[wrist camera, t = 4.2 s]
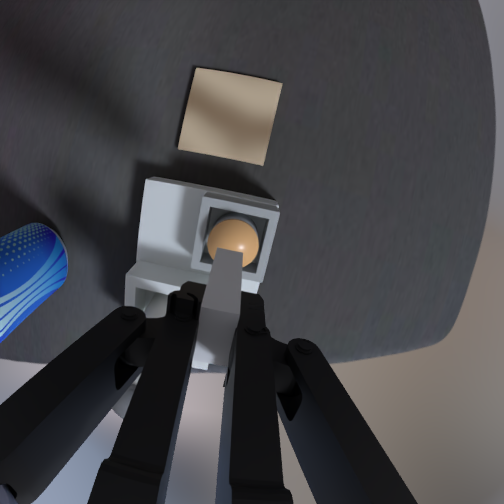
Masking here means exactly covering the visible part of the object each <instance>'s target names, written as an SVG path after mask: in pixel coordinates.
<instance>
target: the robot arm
mask: <svg viewBox="0 0 504 504" xmlns="http://www.w3.org/2000/svg"><path fill="white" fill-rule="evenodd" d="M242 265H243V253H242V252H237V251H232V250H227V249H223V248H218V247H217V250H216V254H215V257H214V261H213V264H212V268H211V271H210V275H209V278H208V282H207V285H206V284H201V283H197V282H192V281H187V282H185V283H184V284H182V286H181V288H180V290H176V291H173V292H171V293H170V294H169V295H168V299H167V309H166V314H165V316H164V317H160V318H146V314H145V313H144V311H143V310H141V309H139V308H137V307H133V306H122V307H119V308H117V309H115V310H114V311H113V312H111V313H110V314H109V315H108V316H106V317H105V318H104V319H103V320H101V321H100V322H99V323H98V324H96V325H95V326H94V327H93V328H91V329H90V330H89V331H88V332H86V333H85V334H84V335H83V336H81V337H80V338H79V339H78V340H76V341H75V342H74V343H73V344H72V345H70V346H69V347H68V348H67V349H65V350H64V351H63V352H62V353H61V354H59V355H58V356H57V357H56V358H55V359H53V360H52V361H51V362H50V363H49V364H47V365H46V366H45V367H44V368H43V369H41V370H40V371H39V372H38V373H37V374H36V375H34V376H33V377H32V378H31V379H30V380H29V381H28V382H26V383H25V384H24V385H23V386H22V387H20V388H19V389H18V390H17V391H16V392H15V393H13V394H12V395H11V396H10V397H9V398H8V399H7V400H6V401H4V402H3V403H2V404H1V405H0V504H31V503H32V502H34V501H35V500H36V499H37V498H38V497H39V496H40V495H41V494H42V492H43V491H44V490H45V489H46V488H47V487H48V485H49V484H50V483H51V482H52V481H53V479H54V478H55V477H56V476H57V474H58V473H59V472H60V470H61V469H62V468H63V467H64V466H65V464H66V463H67V462H68V461H69V460H70V458H71V457H72V456H73V455H74V453H75V452H76V451H77V450H78V448H79V447H80V446H81V445H82V444H83V443H84V441H85V440H86V439H87V438H88V436H89V435H90V434H91V433H92V432H93V430H94V429H95V428H96V427H97V426H98V424H99V423H100V422H101V421H102V420H103V418H104V417H105V416H106V415H107V414H108V412H109V411H110V410H111V409H112V407H113V406H114V405H115V404H116V403H117V401H118V400H119V399H120V398H121V397H122V395H123V394H124V393H125V392H126V391H127V389H128V388H129V387H130V386H131V385H132V383H133V382H134V381H135V380H136V379H137V377H138V376H139V375H140V374H141V375H140V377H139V380H138V382H137V385H136V388H135V390H134V393H133V395H132V398H131V401H130V403H129V406H128V408H127V411H126V414H125V417H124V419H123V422H122V425H121V428H120V430H119V433H118V436H117V439H116V441H115V444H114V447H113V450H112V453H111V455H110V457H109V458H108V459H104V461H103V462H102V463H101V466H100V468H99V470H98V473H97V476H96V479H95V482H94V485H93V488H92V492H91V494H90V497H89V500H88V503H87V504H165V498H166V492H167V486H168V481H169V475H170V470H171V465H172V460H173V455H174V450H175V444H176V439H177V434H178V429H179V424H180V420H181V415H182V409H183V405H184V400H185V395H186V391H187V386H188V382H189V377H190V372H191V368H192V361H193V360H195V361H200V362H205V363H210V364H215V365H221V366H226V367H227V366H228V368H227V372H226V377H225V381H224V385H223V387H225V391H224V402H223V413H222V425H221V436H220V449H219V462H218V473H217V486H216V499H215V504H293V499H292V494H291V492H290V490H288V489H286V488H285V487H284V483H283V472H282V460H281V448H280V437H279V424H278V415H277V411H278V413H279V416H280V418H281V421H282V423H283V425H284V428H285V430H286V433H287V435H288V438H289V440H290V442H291V445H292V447H293V449H294V452H295V454H296V457H297V459H298V461H299V464H300V466H301V469H302V471H303V473H304V476H305V478H306V480H307V483H308V485H309V487H310V489H311V492H312V494H313V496H314V499H315V501H316V503H317V504H418V503H417V502H416V500H415V499H414V497H413V495H412V494H411V492H410V491H409V489H408V488H407V486H406V484H405V483H404V481H403V480H402V478H401V476H400V475H399V473H398V472H397V470H396V468H395V467H394V465H393V464H392V462H391V461H390V459H389V457H388V456H387V454H386V453H385V451H384V450H383V448H382V447H381V445H380V443H379V442H378V440H377V439H376V437H375V435H374V434H373V432H372V431H371V429H370V427H369V426H368V425H367V423H366V421H365V420H364V418H363V417H362V415H361V413H360V412H359V410H358V409H357V407H356V406H355V404H354V402H353V401H352V399H351V398H350V396H349V395H348V393H347V391H346V390H345V388H344V387H343V385H342V384H341V382H340V380H339V379H338V377H337V376H336V374H335V373H334V371H333V369H332V368H331V366H330V365H329V363H328V362H327V360H326V359H325V357H324V355H323V354H322V352H321V351H320V349H319V348H318V347H317V346H316V344H314V343H312V342H311V341H309V340H306V339H300V338H297V339H292V340H291V341H289V343H288V345H287V344H284V343H282V342H279V341H277V340H275V339H273V338H272V337H271V336H270V331H269V329H268V328H267V327H266V325H265V313H264V301H263V299H262V298H261V296H260V295H259V294H255V293H250V292H245V291H241V284H242Z"/></svg>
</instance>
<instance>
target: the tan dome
mask: <svg viewBox="0 0 504 504" xmlns="http://www.w3.org/2000/svg"><path fill="white" fill-rule="evenodd" d="M207 247H208V251H209V254H210V256H211V257H212V259H213V260H214V257H215V254H216V250H217V247H218V248H223V249H227V250H232V251H237V252H242V253H243V265H242V267H245V266H246V265H248V264H249V263H251V262H252V261H253V259H254V258H255V257H256V255H257V252H258V248H259V242H258V231H257V227H256V225H255V223H254V221H253V220H252V219H251V218H250V217H249V216H247V215H246V214H243V213H239V212H229V213H226V214H224V215H222V216H221V217H219V218H218V219H217V220H216V222H215V224H214V225H213V228H212V230H211V232H210V234H209V237H208V242H207Z"/></svg>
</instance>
